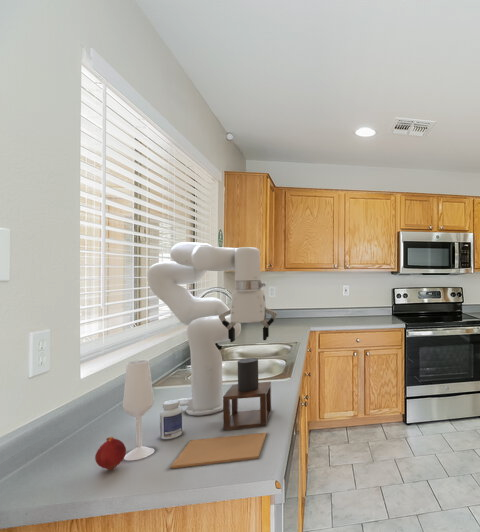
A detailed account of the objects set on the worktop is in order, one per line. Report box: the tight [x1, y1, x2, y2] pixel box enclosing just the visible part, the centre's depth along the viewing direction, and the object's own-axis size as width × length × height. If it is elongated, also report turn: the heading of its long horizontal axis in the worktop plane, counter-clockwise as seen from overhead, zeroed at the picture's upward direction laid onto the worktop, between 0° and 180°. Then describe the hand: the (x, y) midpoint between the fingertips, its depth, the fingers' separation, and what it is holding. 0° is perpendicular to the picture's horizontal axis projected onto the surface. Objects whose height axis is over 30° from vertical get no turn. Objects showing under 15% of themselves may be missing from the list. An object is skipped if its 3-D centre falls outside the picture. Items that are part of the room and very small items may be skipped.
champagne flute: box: [122, 359, 155, 462], centre depth 97 cm, size 7×7×24 cm
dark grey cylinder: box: [237, 357, 259, 392], centre depth 118 cm, size 6×6×9 cm
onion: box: [94, 436, 127, 471], centre depth 90 cm, size 6×6×8 cm
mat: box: [170, 432, 268, 469], centre depth 98 cm, size 20×14×1 cm
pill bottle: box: [159, 399, 183, 440], centre depth 108 cm, size 5×5×10 cm
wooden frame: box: [222, 381, 272, 431], centre depth 118 cm, size 12×12×10 cm
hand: (249, 340), depth 118 cm, fingers open, 9 cm apart
